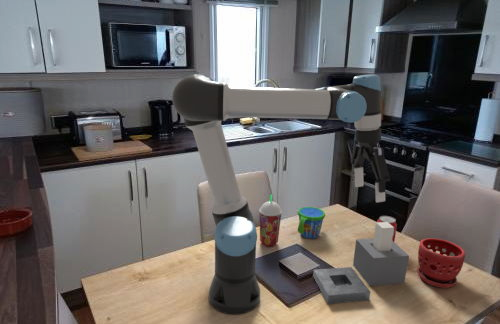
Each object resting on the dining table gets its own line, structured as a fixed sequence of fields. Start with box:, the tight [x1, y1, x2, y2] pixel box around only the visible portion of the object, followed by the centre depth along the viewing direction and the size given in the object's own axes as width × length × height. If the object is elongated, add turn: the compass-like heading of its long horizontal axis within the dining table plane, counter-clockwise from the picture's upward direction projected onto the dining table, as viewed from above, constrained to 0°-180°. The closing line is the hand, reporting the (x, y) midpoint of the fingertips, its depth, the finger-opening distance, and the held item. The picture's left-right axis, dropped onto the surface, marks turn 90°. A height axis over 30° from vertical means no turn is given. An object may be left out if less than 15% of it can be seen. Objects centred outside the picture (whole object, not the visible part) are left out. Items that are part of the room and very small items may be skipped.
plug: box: [373, 221, 395, 252], centre depth 116 cm, size 5×4×10 cm
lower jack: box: [312, 266, 371, 305], centre depth 111 cm, size 13×13×3 cm
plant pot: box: [416, 237, 466, 289], centre depth 117 cm, size 13×13×12 cm
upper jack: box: [352, 237, 410, 287], centre depth 119 cm, size 12×12×10 cm
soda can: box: [376, 215, 398, 243], centre depth 135 cm, size 7×7×12 cm
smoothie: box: [258, 194, 283, 248], centre depth 135 cm, size 8×8×20 cm
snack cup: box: [297, 206, 326, 239], centre depth 144 cm, size 16×10×10 cm
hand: (369, 193), depth 113 cm, fingers open, 13 cm apart
